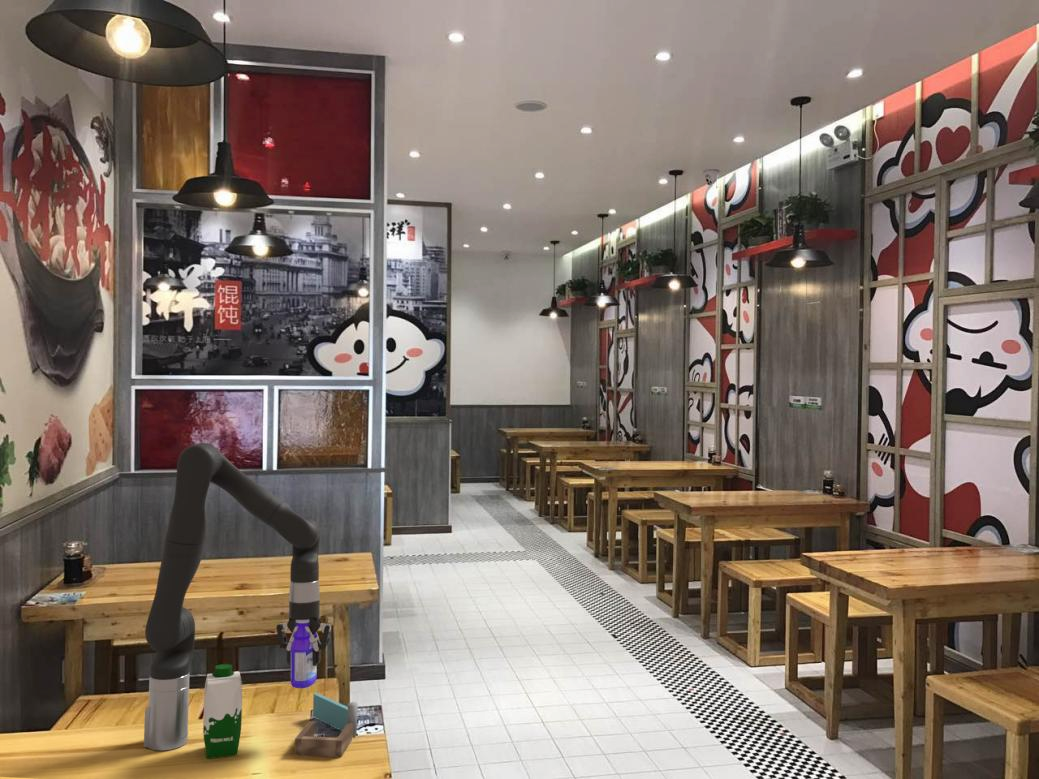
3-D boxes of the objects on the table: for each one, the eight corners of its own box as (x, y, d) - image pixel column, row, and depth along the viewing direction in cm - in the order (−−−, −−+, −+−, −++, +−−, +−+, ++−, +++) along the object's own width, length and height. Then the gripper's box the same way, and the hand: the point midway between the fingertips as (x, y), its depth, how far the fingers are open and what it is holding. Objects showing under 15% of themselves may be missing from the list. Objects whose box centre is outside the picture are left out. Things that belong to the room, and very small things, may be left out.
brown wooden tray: (294, 755, 199) (295, 738, 199) (308, 736, 210) (309, 721, 210) (341, 757, 199) (341, 740, 199) (352, 738, 210) (353, 723, 210)
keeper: (311, 718, 222) (311, 688, 222) (318, 715, 224) (319, 686, 224) (350, 737, 210) (351, 706, 210) (358, 735, 211) (359, 704, 212)
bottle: (307, 690, 204) (308, 620, 204) (286, 689, 205) (287, 619, 205) (320, 680, 211) (320, 613, 211) (299, 679, 212) (300, 611, 213)
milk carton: (239, 741, 206) (241, 661, 207) (241, 756, 198) (243, 673, 198) (202, 746, 203) (204, 665, 203) (202, 761, 195) (205, 676, 195)
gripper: (271, 601, 205) (270, 669, 205) (328, 601, 204) (327, 670, 204) (281, 594, 213) (281, 659, 212) (336, 595, 212) (335, 660, 212)
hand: (303, 664), depth 208 cm, fingers closed on bottle, 5 cm apart
